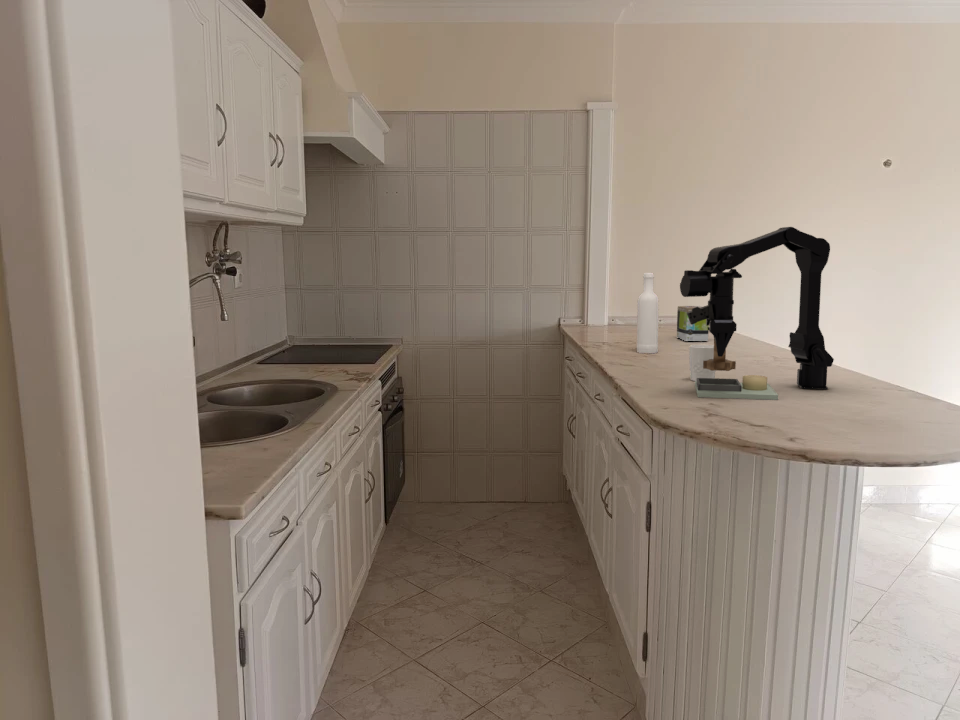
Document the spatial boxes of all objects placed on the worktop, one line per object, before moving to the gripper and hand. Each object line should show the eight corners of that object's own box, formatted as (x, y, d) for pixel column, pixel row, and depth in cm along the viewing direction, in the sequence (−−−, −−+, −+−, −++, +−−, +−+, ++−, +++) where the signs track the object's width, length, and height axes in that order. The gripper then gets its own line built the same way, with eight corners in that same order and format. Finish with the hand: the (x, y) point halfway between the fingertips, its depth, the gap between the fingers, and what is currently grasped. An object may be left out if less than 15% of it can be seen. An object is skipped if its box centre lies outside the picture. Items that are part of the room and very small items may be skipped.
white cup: (698, 383, 195) (699, 348, 193) (683, 378, 202) (683, 345, 201) (722, 381, 197) (723, 346, 196) (706, 377, 204) (707, 343, 203)
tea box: (709, 342, 290) (710, 307, 288) (685, 342, 291) (686, 307, 289) (698, 338, 305) (699, 305, 303) (675, 338, 305) (676, 305, 303)
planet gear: (733, 366, 183) (734, 337, 182) (736, 371, 176) (737, 340, 175) (702, 366, 185) (703, 336, 184) (703, 370, 178) (704, 339, 177)
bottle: (633, 353, 260) (635, 273, 256) (639, 350, 267) (640, 272, 262) (655, 354, 256) (656, 273, 252) (660, 351, 263) (661, 272, 259)
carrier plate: (768, 387, 186) (768, 372, 186) (778, 399, 170) (778, 383, 170) (694, 385, 191) (695, 370, 191) (697, 397, 175) (698, 380, 174)
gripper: (687, 294, 189) (686, 350, 191) (690, 298, 171) (688, 360, 173) (730, 294, 186) (728, 351, 188) (737, 297, 168) (735, 360, 171)
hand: (719, 355), depth 180 cm, fingers closed on planet gear, 3 cm apart
